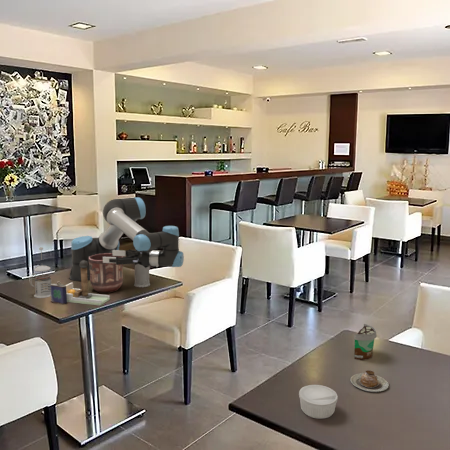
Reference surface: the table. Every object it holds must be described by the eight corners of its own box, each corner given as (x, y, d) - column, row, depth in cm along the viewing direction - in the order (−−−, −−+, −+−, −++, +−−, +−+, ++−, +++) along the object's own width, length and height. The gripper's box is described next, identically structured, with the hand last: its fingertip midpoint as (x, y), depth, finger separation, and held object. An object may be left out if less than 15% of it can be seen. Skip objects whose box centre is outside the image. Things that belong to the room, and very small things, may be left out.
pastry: (342, 383, 159) (343, 369, 158) (365, 373, 166) (366, 360, 165) (373, 398, 149) (374, 384, 148) (396, 387, 156) (397, 373, 155)
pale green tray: (71, 295, 246) (70, 282, 245) (110, 299, 241) (109, 285, 239) (60, 301, 238) (59, 287, 236) (100, 305, 232) (99, 291, 230)
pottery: (103, 297, 244) (102, 262, 241) (83, 290, 255) (81, 256, 253) (130, 289, 258) (130, 256, 255) (110, 283, 269) (109, 251, 266)
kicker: (81, 295, 243) (79, 258, 240) (92, 296, 241) (90, 259, 238) (74, 298, 237) (72, 261, 234) (85, 300, 235) (83, 262, 232)
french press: (57, 294, 248) (55, 247, 243) (35, 299, 239) (32, 250, 235) (48, 290, 254) (45, 244, 250) (26, 295, 246) (23, 247, 242)
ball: (77, 288, 242) (78, 295, 242) (70, 288, 243) (71, 295, 243) (72, 290, 238) (73, 298, 238) (65, 290, 239) (66, 298, 239)
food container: (370, 364, 171) (371, 337, 169) (353, 360, 174) (354, 334, 172) (379, 352, 181) (380, 326, 180) (363, 348, 184) (364, 323, 183)
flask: (50, 302, 236) (48, 280, 234) (54, 300, 239) (53, 279, 237) (64, 304, 232) (63, 283, 231) (69, 303, 235) (68, 281, 233)
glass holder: (131, 286, 263) (130, 259, 260) (143, 279, 276) (142, 253, 274) (145, 287, 260) (145, 260, 258) (157, 280, 273) (156, 254, 271)
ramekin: (324, 426, 134) (325, 408, 133) (290, 411, 141) (291, 394, 140) (344, 409, 142) (344, 393, 141) (311, 396, 149) (311, 380, 148)
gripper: (144, 272, 220) (99, 270, 222) (157, 259, 244) (116, 257, 246) (143, 256, 218) (98, 254, 221) (157, 244, 243) (116, 243, 245)
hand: (107, 256), depth 233 cm, fingers open, 13 cm apart
